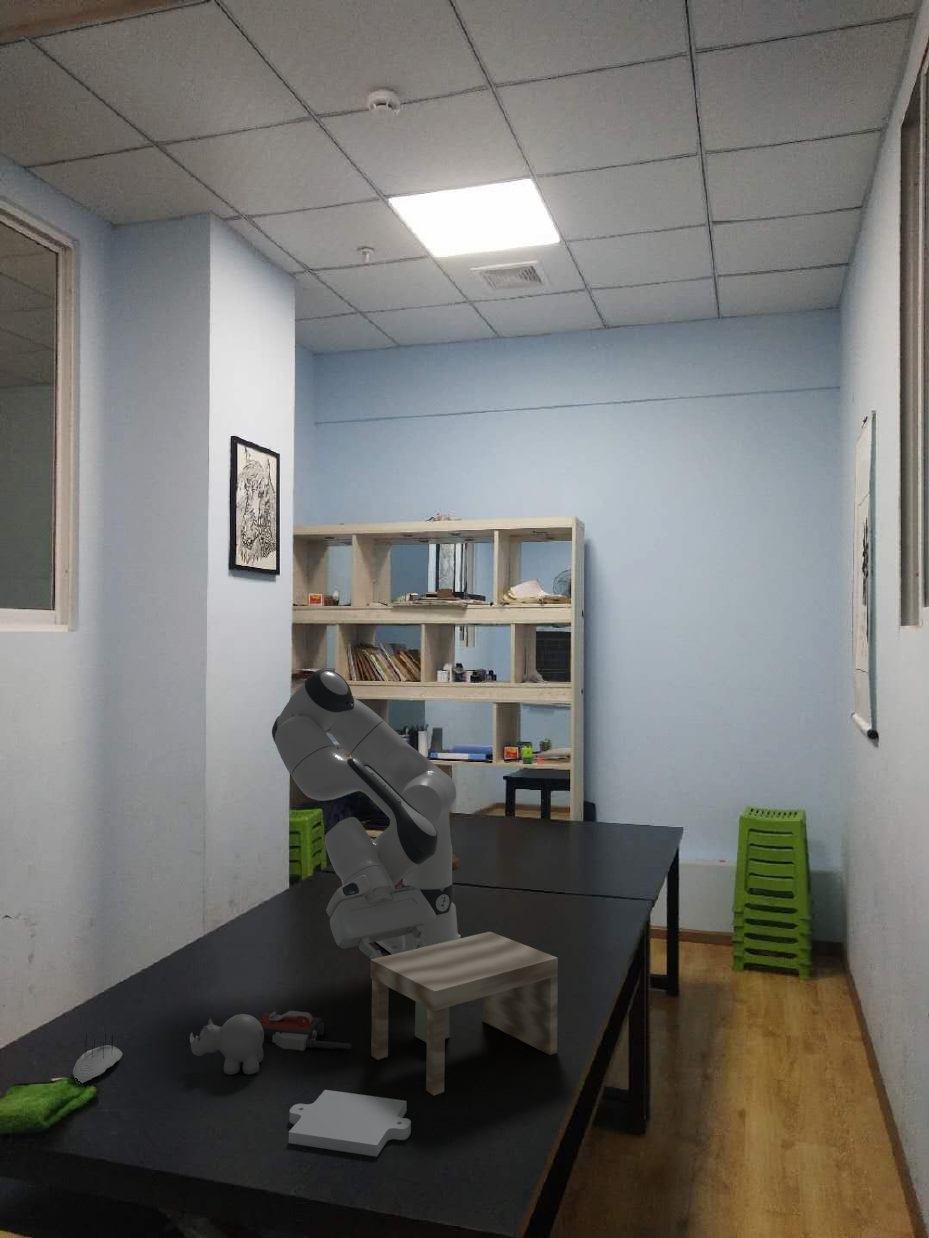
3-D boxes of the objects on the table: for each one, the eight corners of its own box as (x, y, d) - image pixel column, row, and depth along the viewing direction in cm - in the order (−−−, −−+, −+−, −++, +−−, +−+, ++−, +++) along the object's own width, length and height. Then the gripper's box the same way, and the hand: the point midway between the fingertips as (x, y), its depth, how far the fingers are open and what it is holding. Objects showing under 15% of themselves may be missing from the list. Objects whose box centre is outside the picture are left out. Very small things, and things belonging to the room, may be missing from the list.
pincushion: (97, 1088, 151) (98, 1051, 151) (60, 1086, 152) (60, 1049, 152) (132, 1055, 163) (133, 1021, 163) (98, 1053, 164) (98, 1019, 164)
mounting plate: (422, 1116, 144) (422, 1102, 144) (394, 1161, 132) (394, 1147, 132) (309, 1100, 149) (309, 1087, 149) (271, 1143, 136) (272, 1129, 136)
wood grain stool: (369, 1055, 164) (370, 959, 164) (489, 1018, 180) (489, 931, 180) (433, 1096, 150) (434, 991, 150) (556, 1052, 166) (557, 957, 166)
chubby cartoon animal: (196, 1057, 162) (197, 1006, 163) (268, 1059, 162) (269, 1007, 162) (182, 1077, 155) (183, 1023, 155) (258, 1078, 155) (258, 1024, 155)
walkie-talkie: (236, 1047, 168) (349, 1057, 164) (236, 1021, 168) (349, 1031, 164) (256, 1027, 176) (363, 1036, 173) (256, 1002, 176) (363, 1011, 173)
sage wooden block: (415, 1035, 172) (415, 990, 172) (435, 1029, 175) (436, 984, 175) (428, 1043, 169) (429, 996, 169) (449, 1037, 172) (449, 991, 172)
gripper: (410, 893, 192) (441, 954, 184) (318, 911, 180) (346, 978, 172) (422, 874, 189) (454, 935, 180) (329, 891, 177) (358, 958, 168)
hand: (400, 956), depth 176 cm, fingers open, 8 cm apart
